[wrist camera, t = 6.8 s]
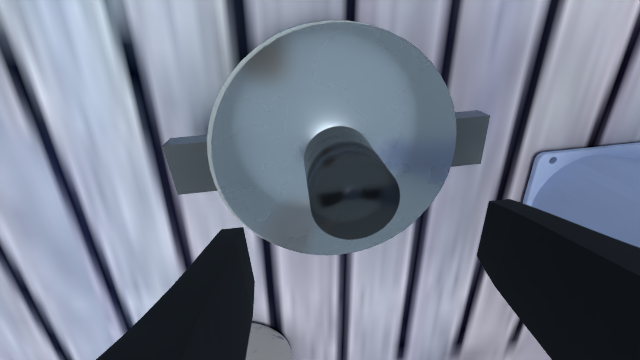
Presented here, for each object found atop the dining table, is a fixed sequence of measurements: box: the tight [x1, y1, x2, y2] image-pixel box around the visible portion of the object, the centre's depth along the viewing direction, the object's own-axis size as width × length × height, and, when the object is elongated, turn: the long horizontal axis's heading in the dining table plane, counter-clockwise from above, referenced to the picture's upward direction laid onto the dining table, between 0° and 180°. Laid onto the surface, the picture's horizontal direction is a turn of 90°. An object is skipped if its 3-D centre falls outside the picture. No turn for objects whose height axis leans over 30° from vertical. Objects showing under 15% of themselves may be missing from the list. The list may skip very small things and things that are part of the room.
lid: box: [211, 22, 456, 255], centre depth 11 cm, size 10×10×4 cm
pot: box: [163, 20, 490, 244], centre depth 16 cm, size 15×11×5 cm
